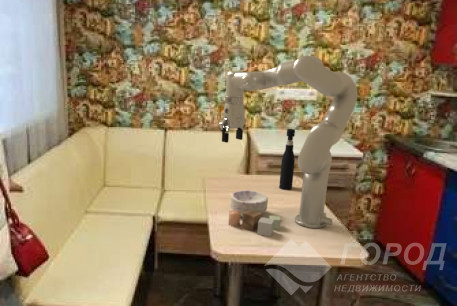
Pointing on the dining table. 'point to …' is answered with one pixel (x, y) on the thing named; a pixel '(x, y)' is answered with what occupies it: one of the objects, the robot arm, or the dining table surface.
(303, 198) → the robot arm
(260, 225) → the grey cube
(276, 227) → the sage cube
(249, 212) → the walnut block
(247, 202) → the paper bowls
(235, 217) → the cylinder
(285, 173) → the wine bottle
